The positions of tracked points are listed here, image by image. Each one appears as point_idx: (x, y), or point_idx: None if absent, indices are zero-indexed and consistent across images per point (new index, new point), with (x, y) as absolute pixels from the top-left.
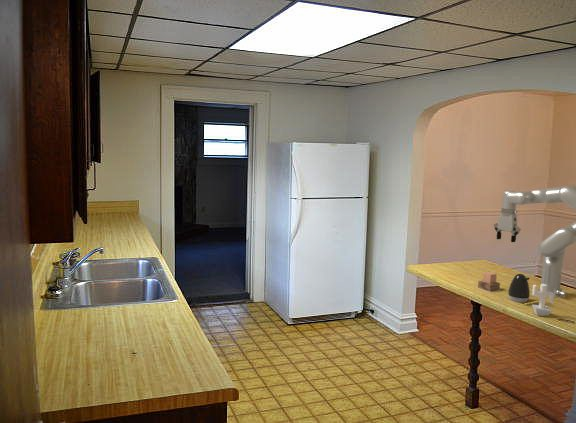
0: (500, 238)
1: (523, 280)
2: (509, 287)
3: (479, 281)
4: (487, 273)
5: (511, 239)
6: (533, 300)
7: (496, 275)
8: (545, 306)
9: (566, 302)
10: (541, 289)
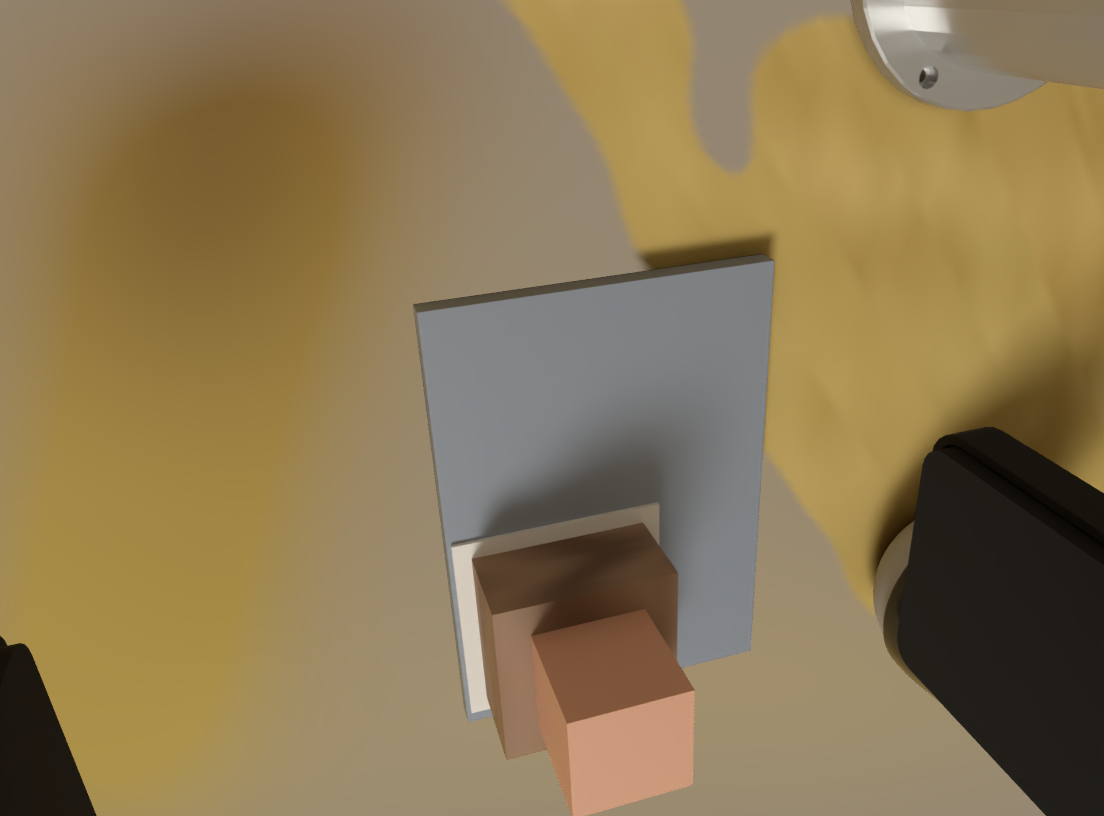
0: (26, 691)
1: None
2: None
3: (522, 754)
4: (623, 787)
5: (1001, 741)
6: (979, 372)
7: (685, 676)
8: None
9: None
10: None
